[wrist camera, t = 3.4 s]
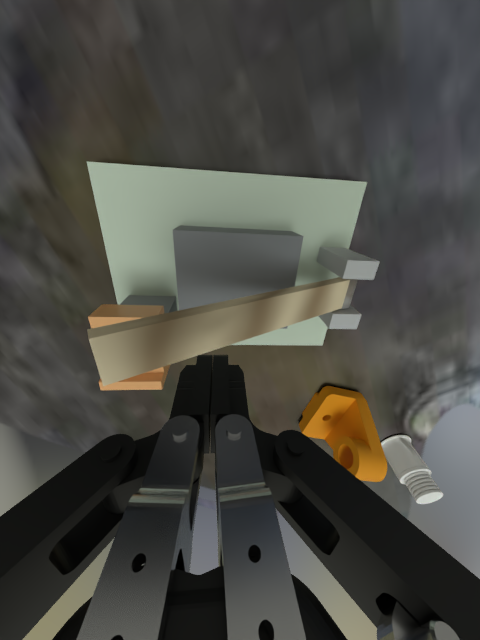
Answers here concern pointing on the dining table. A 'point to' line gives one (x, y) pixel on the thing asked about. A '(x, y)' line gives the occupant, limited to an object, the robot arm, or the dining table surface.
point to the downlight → (410, 469)
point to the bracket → (346, 431)
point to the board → (217, 204)
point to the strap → (209, 327)
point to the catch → (124, 313)
